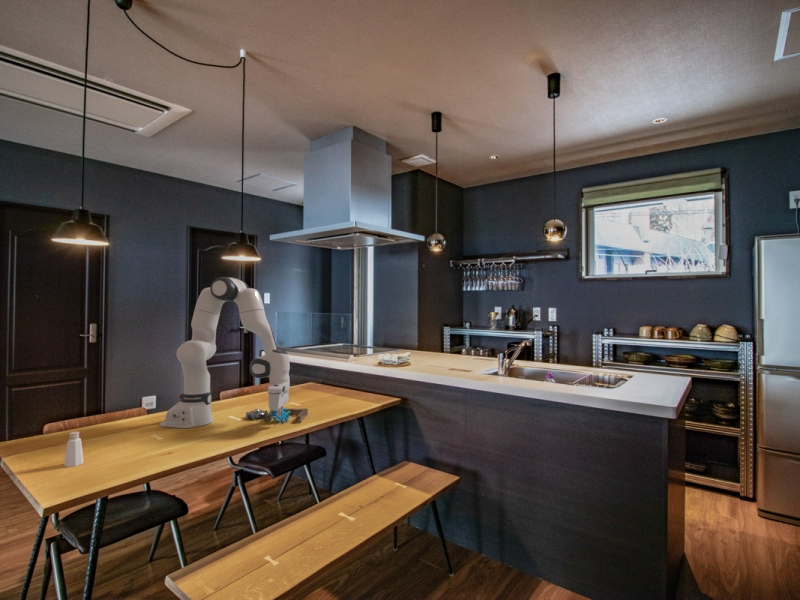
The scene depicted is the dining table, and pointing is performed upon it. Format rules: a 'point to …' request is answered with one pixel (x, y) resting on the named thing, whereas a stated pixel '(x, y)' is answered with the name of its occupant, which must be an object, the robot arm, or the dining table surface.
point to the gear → (283, 416)
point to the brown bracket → (299, 412)
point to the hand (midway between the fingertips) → (279, 416)
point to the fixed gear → (256, 414)
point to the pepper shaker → (74, 451)
